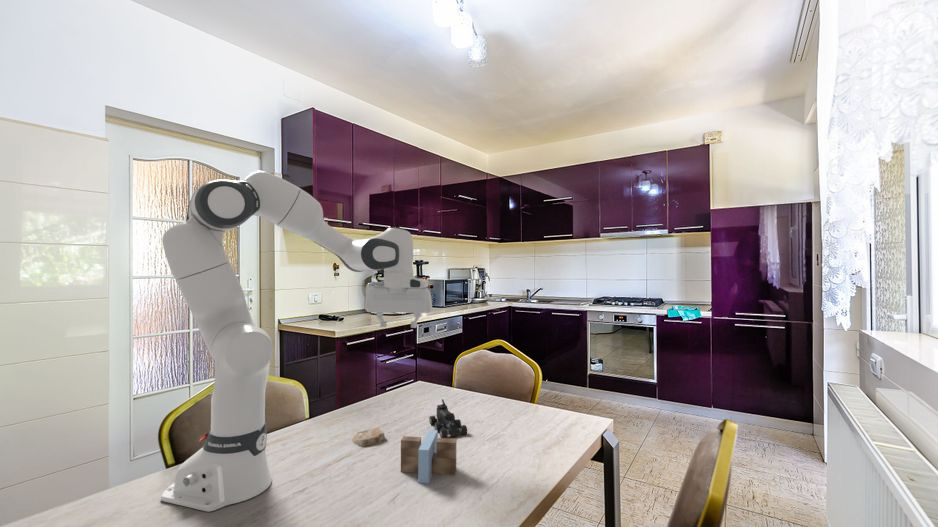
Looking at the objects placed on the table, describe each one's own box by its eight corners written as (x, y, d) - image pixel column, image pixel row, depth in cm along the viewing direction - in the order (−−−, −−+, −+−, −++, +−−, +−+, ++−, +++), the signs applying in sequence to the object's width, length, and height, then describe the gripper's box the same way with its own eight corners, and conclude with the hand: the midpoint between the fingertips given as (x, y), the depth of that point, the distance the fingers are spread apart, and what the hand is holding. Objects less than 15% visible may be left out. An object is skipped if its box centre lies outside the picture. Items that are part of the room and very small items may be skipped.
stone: (355, 448, 116) (355, 440, 116) (350, 440, 122) (351, 431, 122) (385, 442, 121) (385, 434, 121) (379, 434, 126) (379, 426, 126)
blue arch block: (428, 483, 97) (428, 450, 97) (418, 482, 97) (418, 449, 97) (437, 460, 109) (437, 430, 109) (428, 459, 109) (428, 429, 109)
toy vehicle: (451, 421, 139) (451, 396, 139) (467, 436, 125) (467, 408, 125) (428, 425, 136) (428, 398, 136) (442, 441, 122) (442, 411, 122)
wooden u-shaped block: (400, 471, 102) (400, 440, 103) (403, 467, 105) (403, 436, 105) (455, 474, 101) (455, 442, 101) (456, 469, 103) (456, 438, 104)
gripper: (361, 281, 120) (361, 328, 120) (429, 282, 118) (429, 329, 118) (369, 281, 126) (369, 325, 126) (433, 281, 124) (433, 326, 124)
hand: (398, 327), depth 122 cm, fingers open, 8 cm apart
